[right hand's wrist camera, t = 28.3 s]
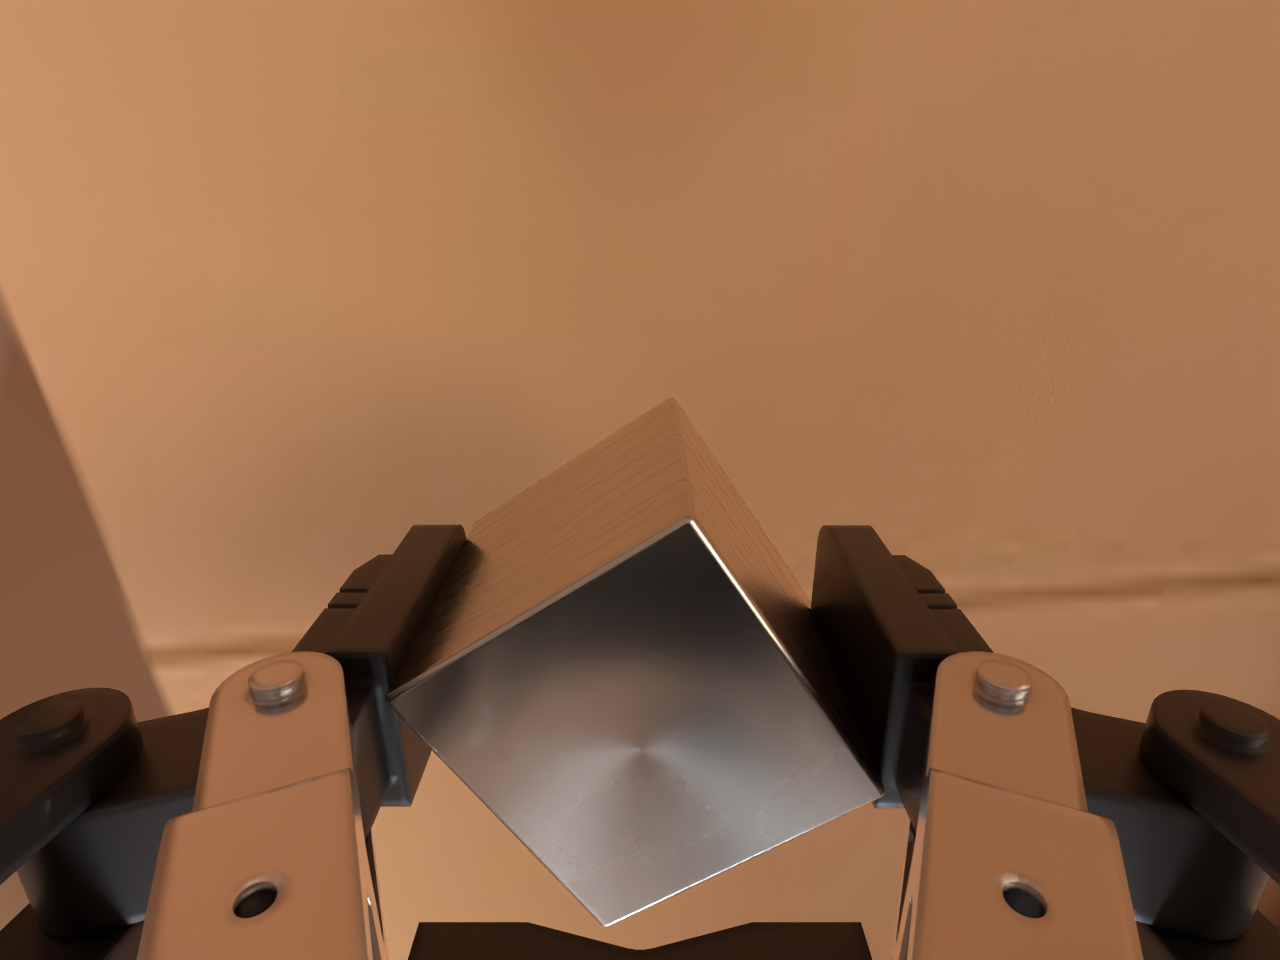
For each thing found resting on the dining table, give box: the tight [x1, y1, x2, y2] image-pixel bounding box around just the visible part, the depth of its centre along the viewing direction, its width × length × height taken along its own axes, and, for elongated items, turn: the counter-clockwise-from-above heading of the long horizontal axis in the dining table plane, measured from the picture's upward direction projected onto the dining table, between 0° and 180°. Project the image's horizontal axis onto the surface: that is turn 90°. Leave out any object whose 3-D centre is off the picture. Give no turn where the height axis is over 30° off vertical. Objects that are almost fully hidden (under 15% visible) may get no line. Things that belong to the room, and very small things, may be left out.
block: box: [385, 398, 885, 927], centre depth 10 cm, size 4×4×5 cm
